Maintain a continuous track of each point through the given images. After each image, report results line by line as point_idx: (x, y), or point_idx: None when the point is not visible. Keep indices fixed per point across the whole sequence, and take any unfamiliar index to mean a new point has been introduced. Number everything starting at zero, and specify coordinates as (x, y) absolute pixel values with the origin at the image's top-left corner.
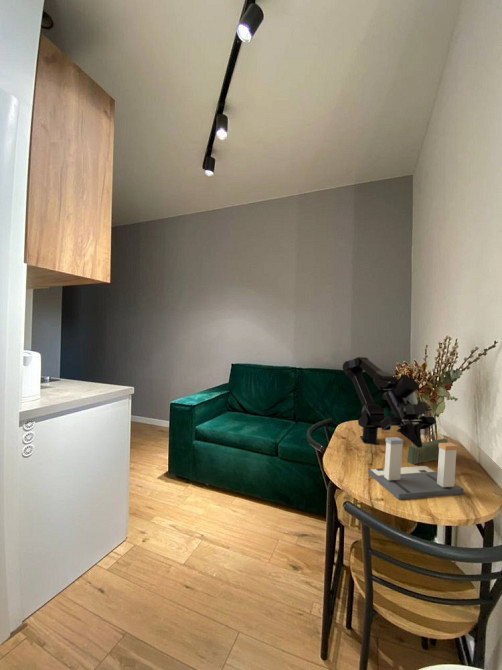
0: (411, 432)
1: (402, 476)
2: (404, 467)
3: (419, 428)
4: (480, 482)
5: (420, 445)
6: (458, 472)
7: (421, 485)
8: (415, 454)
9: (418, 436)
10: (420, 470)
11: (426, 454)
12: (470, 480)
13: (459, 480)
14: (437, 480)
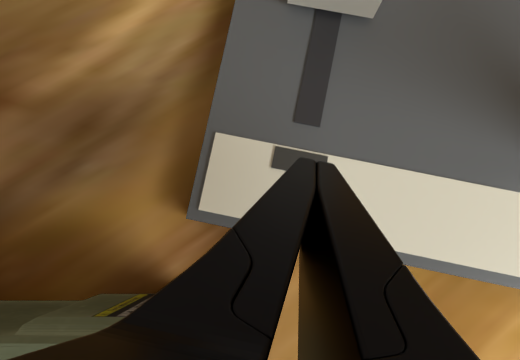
0: (463, 345)
1: (511, 163)
2: None
3: (131, 351)
4: (10, 7)
5: (323, 167)
6: (2, 122)
7: (481, 47)
8: None
9: (292, 237)
10: None
11: (22, 314)
12: (42, 39)
13: (110, 60)
14: (379, 3)
